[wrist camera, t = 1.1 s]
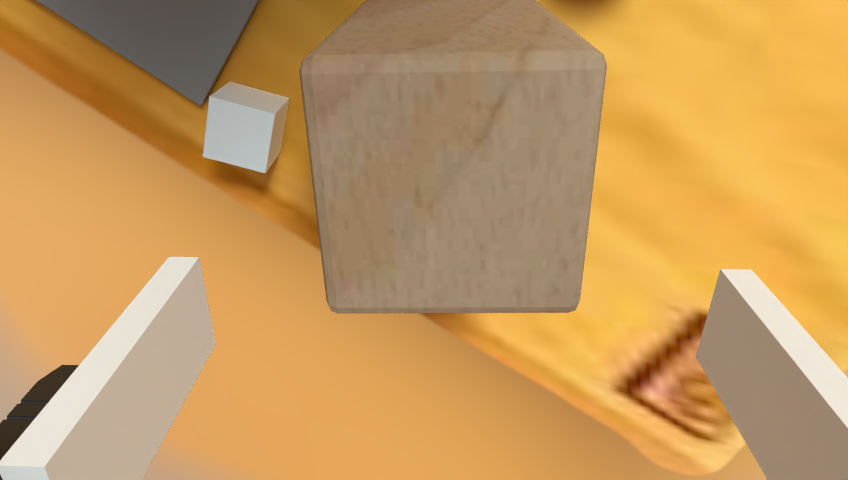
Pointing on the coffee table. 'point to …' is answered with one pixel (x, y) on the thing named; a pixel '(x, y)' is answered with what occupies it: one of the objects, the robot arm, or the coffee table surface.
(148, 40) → the slate mat
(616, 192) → the coffee table surface
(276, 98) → the pale blue cube
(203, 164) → the coffee table surface
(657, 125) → the coffee table surface
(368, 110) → the wooden block
